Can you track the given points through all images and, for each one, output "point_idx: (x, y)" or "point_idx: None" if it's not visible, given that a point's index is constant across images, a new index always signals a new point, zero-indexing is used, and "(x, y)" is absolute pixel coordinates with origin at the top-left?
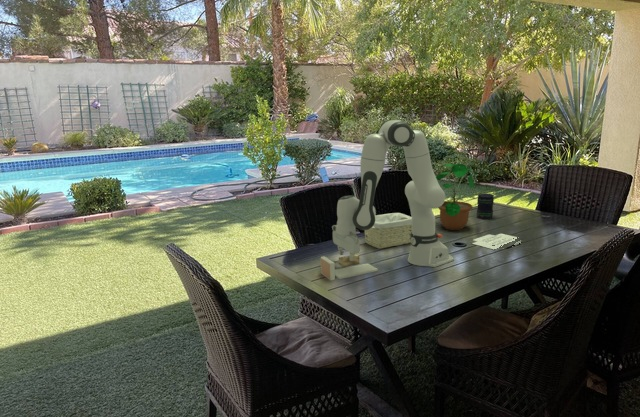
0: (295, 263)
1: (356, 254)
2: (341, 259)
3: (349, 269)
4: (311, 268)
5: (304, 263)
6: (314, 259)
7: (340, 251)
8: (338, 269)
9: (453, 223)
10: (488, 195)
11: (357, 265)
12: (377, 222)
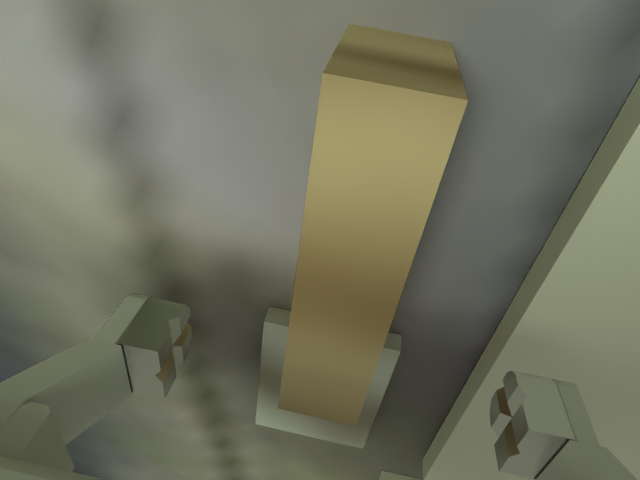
0: (73, 458)
1: (342, 100)
2: (358, 413)
3: (582, 389)
4: (230, 465)
5: (95, 434)
6: (15, 349)
7: (150, 389)
8: (464, 438)
9: None
10: None
11: (585, 233)
12: None
